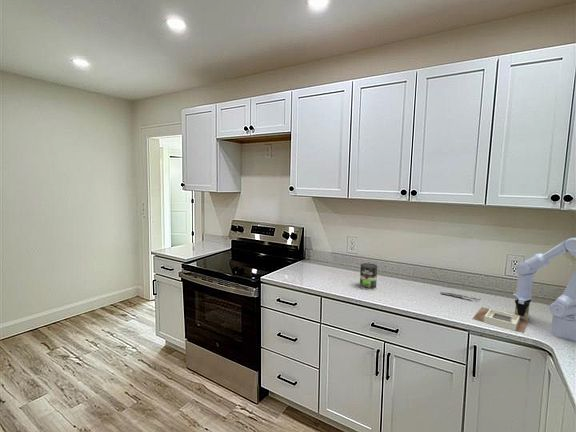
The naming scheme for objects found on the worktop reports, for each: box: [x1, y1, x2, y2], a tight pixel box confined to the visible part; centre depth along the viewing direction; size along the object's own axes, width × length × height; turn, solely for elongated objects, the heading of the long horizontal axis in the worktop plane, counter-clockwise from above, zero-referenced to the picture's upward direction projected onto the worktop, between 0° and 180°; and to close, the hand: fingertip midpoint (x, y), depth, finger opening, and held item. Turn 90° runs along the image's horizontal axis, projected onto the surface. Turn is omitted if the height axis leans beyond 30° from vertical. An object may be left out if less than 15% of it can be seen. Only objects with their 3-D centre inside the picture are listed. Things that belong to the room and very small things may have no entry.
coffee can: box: [359, 262, 378, 291], centre depth 193 cm, size 10×10×14 cm
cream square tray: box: [483, 308, 520, 332], centre depth 145 cm, size 12×12×3 cm
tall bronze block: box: [514, 302, 531, 320], centre depth 149 cm, size 2×5×8 cm, turn 47°
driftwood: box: [440, 291, 482, 303], centre depth 179 cm, size 21×7×2 cm, turn 50°
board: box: [471, 306, 530, 334], centre depth 149 cm, size 20×20×1 cm
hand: (521, 314), depth 150 cm, fingers open, 3 cm apart
